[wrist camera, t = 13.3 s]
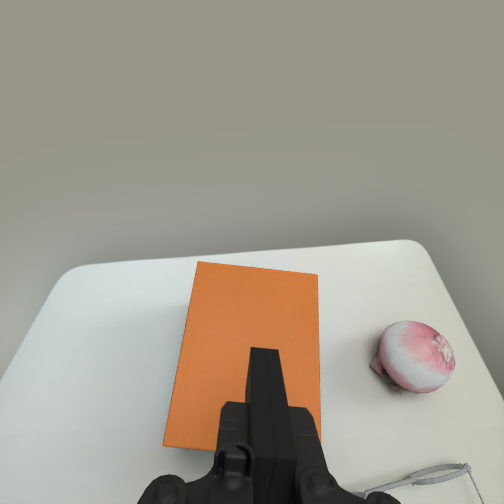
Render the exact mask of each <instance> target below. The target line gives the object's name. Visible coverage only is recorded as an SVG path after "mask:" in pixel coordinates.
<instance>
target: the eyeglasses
mask: <svg viewBox="0 0 504 504" xmlns="http://www.w3.org/2000/svg"><path fill="white" fill-rule="evenodd" d="M447 469H461V470H459V471H456V472H453V473H450V474H447V475H443V476H439V477H435V478H429V479H420V480H418V479H417V477H420V476H422V475H425V474H429V473H432V472H437V471H441V470H447ZM470 470H471V467H470V465H468V463H465V464H464V465H463V464H461V463H460V464H446V465H440V466H435V467H431V468H427V469H424V470H421V471H418V472H416V473H413V474H412V475H410V476H409V478H406V479H403V480H399V481H395V482H392V483H388V484H385V485H382V486H379V487H376V488H373V489H370V490H366V491H364V493H362V492H355V493H352V494H354V495H357V496H359V497H362V498H364V499H366V497H367V495H368V494H369V493H371V492H373V491H386V490H389V489H392V488H395V487H399V486H402V485H406V484H409V483H411V484H412V485H413V486H414V484H416V485H427V484H435V483H439V482H443V481H447V480H450V479H453V478H457V477H459V476H462V475H464V474H465V473H467V472H468V473H469V475H470V477H471V479H472V481H473V483H474V486H475V488H476V490H477V492H478V494H479V497H480V499H481V501H482V503H483V504H484V502H483V500H482V497H481V495H480V493H479V491H478V489H477V486H476V484H475V482H474V480H473V478H472V476H471V471H470Z"/></svg>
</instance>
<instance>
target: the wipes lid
mask: <svg viewBox="0 0 504 504" xmlns="http://www.w3.org/2000/svg"><path fill="white" fill-rule="evenodd" d="M251 347H258V348H268V349H278V350H279V355H280V361H281V366H282V372H283V378H284V384H285V389H286V395H287V401H288V406H295V407H306V408H307V409H308V411H309V412H310V413H311V414H312V416H313V418H314V421H315V425H316V429H317V432H318V438H319V439H320V443H321V412H320V363H319V314H318V275H316V274H307V273H298V272H290V271H281V270H272V269H263V268H254V267H245V266H236V265H227V264H218V263H209V262H200V261H198V263H197V268H196V273H195V278H194V283H193V289H192V294H191V299H190V304H189V310H188V315H187V320H186V325H185V331H184V336H183V341H182V346H181V352H180V357H179V362H178V367H177V372H176V378H175V383H174V388H173V393H172V399H171V404H170V409H169V414H168V420H167V425H166V430H165V435H164V441H163V446H165V447H176V448H187V449H198V450H209V451H216V445H217V437H218V429H219V421H220V413H221V408H222V407H223V406H224V404H225V403H226V401H233V402H244V403H245V388H246V380H247V372H248V364H249V357H250V349H251Z"/></svg>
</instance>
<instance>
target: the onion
mask: <svg viewBox="0 0 504 504" xmlns="http://www.w3.org/2000/svg"><path fill="white" fill-rule="evenodd" d="M455 364H456V363H455V358H454V353H453V350H452V347H451V346H450V345H449V343H448V342H447V340H446V339H445V338H444V336H442V335H440V334H439V333H438V332H437V331H436V330H434V329H433V328H431V327H430V326H428V325H425V324H422V323H419V322H414V321H400V322H396V323H394V324H392V325H390V326H389V327H387V328H386V329H385V330H384V332H383V334H382V337H381V342H380V352H379V353H378V355H377V356H376V357H375V358H374V360H373V361H372V362H371V364H370V365H371V366H372V367H373V368H374V369H375V370H376V371H377V372H378V373H379V374H380V375H381V376H382V377H383V374H386V373H384V370H383V368H385V370H386V372H387V373H388V375H389V376H390V377H391V378H392V380H394V381H395V382H396V383H397V384H398V385H400V386H401V387H403V388H405V389H407V390H409V391H411V392H415V393H429V392H432V391H435V390H437V389H439V388H440V387H441V386H443V385H444V384H445V383H446V382H447V381H448V379H449V378H450V376H451V374H452V371H454V367H455ZM383 378H384V377H383ZM384 379H385V378H384ZM385 380H386V379H385ZM386 381H387V382H389V381H388V380H386ZM389 384H390V385H391V386H392V387H393V388H394V389H395V390H396V391H397V392H398V393H399V394H400V393H401V392H400V391H399V389H397V387H396V386H395V385H396V384H394V383H390V382H389ZM400 395H401V394H400Z"/></svg>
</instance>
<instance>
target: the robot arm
mask: <svg viewBox="0 0 504 504" xmlns="http://www.w3.org/2000/svg"><path fill="white" fill-rule="evenodd" d="M137 504H401V503H400V502H399V501H398V500H397V499H395V498H394V497H392V496H391V495H389V494H387V493H384V492H382V491H373V492H371V493H369V494H368V495H367V497H366V499H364V498H362V497H359V496H357V495H354V494H352V493H350V492H348V491H346V490H344V489H343V488H341V487H340V486H339V485H338V484H337V482H336V480H335V478H334V477H333V476H332V475H331V474H330V473H329V471H328V468H327V465H326V461H325V458H324V454H323V450H322V447H321V443H320V439H319V438H318V432H317V429H316V425H315V421H314V418H313V416H312V414H311V413H310V412H309V411H308V409H307V408H306V407H295V406H288V401H287V395H286V389H285V384H284V378H283V372H282V366H281V361H280V355H279V350H278V349H268V348H258V347H251V349H250V357H249V364H248V372H247V380H246V388H245V403H244V402H233V401H226V403H225V404H224V406H223V407H222V408H221V413H220V421H219V429H218V437H217V445H216V452H215V455H214V464H213V467H212V468H211V470H210V471H209V473H208V474H207V475H205V476H204V477H202V478H201V479H198V480H196V481H192V482H188V483H185V482H184V480H183V479H181V478H180V477H178V476H176V475H169V474H168V475H164V476H160V477H158V478H156V479H155V480H153V481H152V482H151V483H150V484H149V486H148V487H147V488H146V489H145V491H144V493H143V494H142V496H141V498H140V499H139V501H138V503H137Z"/></svg>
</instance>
